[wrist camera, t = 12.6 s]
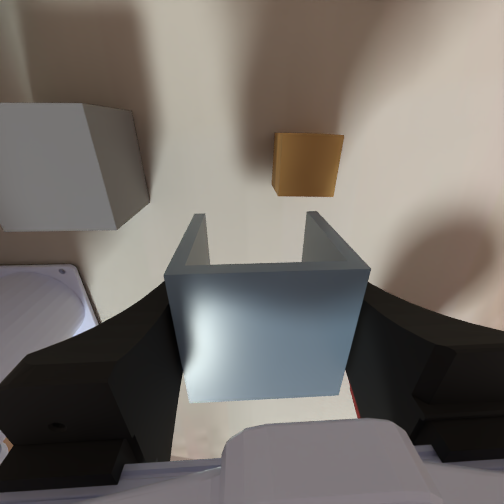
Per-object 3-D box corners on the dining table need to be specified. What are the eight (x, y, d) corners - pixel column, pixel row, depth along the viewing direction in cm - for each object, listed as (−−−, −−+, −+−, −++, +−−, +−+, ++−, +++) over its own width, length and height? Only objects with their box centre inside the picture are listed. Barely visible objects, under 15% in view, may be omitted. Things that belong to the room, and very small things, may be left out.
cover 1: (68, 203, 18) (4, 231, 13) (34, 110, 15) (-62, 102, 10) (149, 202, 18) (116, 229, 13) (131, 110, 16) (81, 103, 11)
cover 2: (206, 310, 14) (189, 403, 10) (194, 213, 12) (163, 274, 7) (305, 306, 15) (338, 394, 10) (316, 211, 12) (371, 269, 7)
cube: (271, 184, 18) (278, 196, 15) (274, 132, 17) (282, 133, 13) (317, 184, 18) (333, 196, 15) (324, 133, 17) (344, 135, 14)
